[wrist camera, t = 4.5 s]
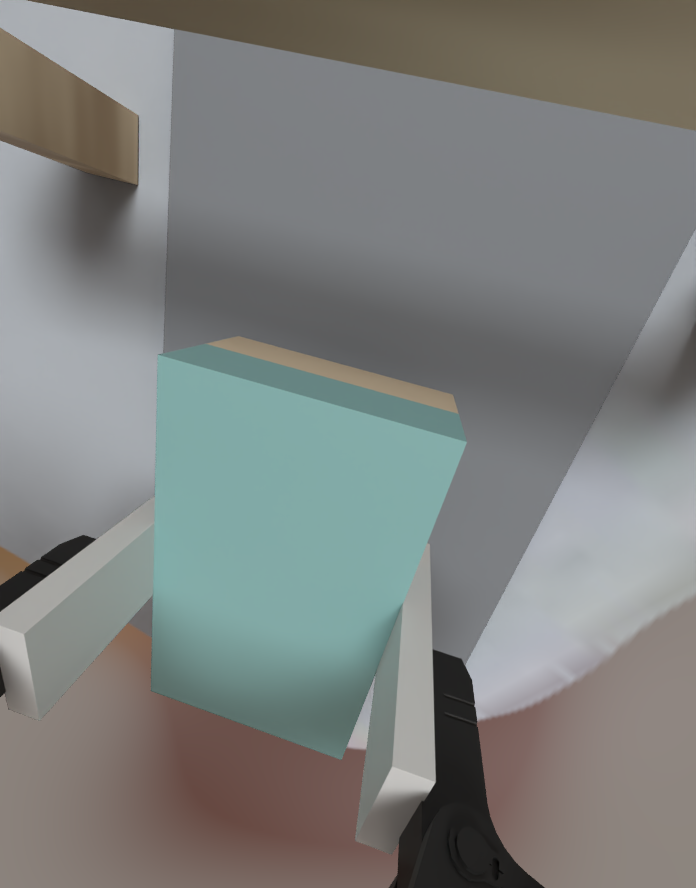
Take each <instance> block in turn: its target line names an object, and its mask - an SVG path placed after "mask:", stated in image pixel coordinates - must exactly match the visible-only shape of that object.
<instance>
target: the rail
mask: <svg viewBox="0 0 696 888" xmlns="http://www.w3.org/2000/svg"><path fill="white" fill-rule="evenodd" d="M28 1H33V2H38V3H43V4H48V5H54V6H59V7H64V8H69V9H74V10H79V11H84V12H89V13H95V14H100V15H105V16H110V17H115V18H120V19H125V20H130V21H136V22H141V23H146V24H151V25H156V26H161V27H166V28H171V29H177V30H182V31H187V32H192V33H197V34H202V35H207V36H213V37H218V38H223V39H228V40H233V41H238V42H243V43H248V44H254V45H259V46H264V47H269V48H274V49H279V50H284V51H289V52H295V53H300V54H305V55H310V56H315V57H320V58H325V59H330V60H336V61H341V62H346V63H351V64H356V65H361V66H366V67H371V68H377V69H382V70H387V71H392V72H397V73H402V74H407V75H413V76H418V77H423V78H428V79H433V80H438V81H443V82H448V83H454V84H459V85H464V86H469V87H474V88H479V89H484V90H489V91H495V92H500V93H505V94H510V95H515V96H520V97H525V98H530V99H536V100H541V101H546V102H551V103H556V104H561V105H566V106H571V107H577V108H582V109H587V110H592V111H597V112H602V113H607V114H613V115H618V116H623V117H628V118H633V119H638V120H643V121H648V122H654V123H659V124H664V125H669V126H674V127H679V128H684V129H689V130H695V131H696V0H28ZM0 140H1V141H3V142H6V143H9V144H11V145H14V146H17V147H19V148H22V149H25V150H27V151H30V152H33V153H36V154H38V155H41V156H44V157H46V158H49V159H52V160H54V161H57V162H60V163H62V164H65V165H68V166H70V167H73V168H76V169H78V170H81V171H84V172H87V173H90V174H94V175H98V176H102V177H107V178H111V179H115V180H119V181H123V182H127V183H131V184H136V185H138V115H137V114H135V113H134V112H132V111H130V110H129V109H127V108H126V107H124V106H123V105H121V104H119V103H118V102H116V101H115V100H113V99H112V98H110V97H108V96H107V95H105V94H104V93H102V92H101V91H99V90H97V89H96V88H94V87H93V86H91V85H89V84H88V83H86V82H85V81H83V80H82V79H80V78H78V77H77V76H75V75H74V74H72V73H71V72H69V71H67V70H66V69H64V68H63V67H61V66H60V65H58V64H56V63H55V62H53V61H52V60H50V59H49V58H47V57H45V56H44V55H42V54H41V53H39V52H38V51H36V50H34V49H33V48H31V47H30V46H28V45H27V44H25V43H23V42H22V41H20V40H19V39H17V38H16V37H14V36H12V35H11V34H9V33H8V32H6V31H4V30H3V29H1V28H0Z"/></svg>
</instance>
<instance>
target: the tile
mask: <svg viewBox="0 0 696 888" xmlns="http://www.w3.org/2000/svg"><path fill="white" fill-rule="evenodd" d="M466 444H467V440H466V437H465V434H464V430H463V427H462V423H461V420H460V417H459V413H458V410H457V406H456V403H455V400H454V396H453V395H452V394H449V393H445V392H441V391H438V390H434V389H430V388H427V387H423V386H419V385H416V384H412V383H408V382H405V381H401V380H397V379H394V378H390V377H386V376H383V375H379V374H376V373H372V372H368V371H365V370H361V369H357V368H354V367H350V366H346V365H343V364H339V363H335V362H332V361H328V360H324V359H321V358H317V357H313V356H310V355H306V354H302V353H299V352H295V351H291V350H288V349H284V348H280V347H277V346H273V345H269V344H266V343H262V342H258V341H255V340H251V339H247V338H244V337H240V336H237V337H233V338H228V339H224V340H220V341H215V342H211V343H207V344H202V345H198V346H194V347H189V348H185V349H181V350H176V351H172V352H168V353H163V354H159V355H158V369H157V418H156V466H155V514H154V571H153V611H152V659H151V691H152V692H155V693H158V694H161V695H163V696H167V697H169V698H172V699H175V700H178V701H180V702H183V703H186V704H189V705H191V706H194V707H197V708H199V709H202V710H205V711H208V712H210V713H213V714H216V715H219V716H222V717H224V718H227V719H230V720H233V721H235V722H238V723H241V724H244V725H246V726H249V727H252V728H255V729H257V730H260V731H263V732H266V733H268V734H271V735H274V736H277V737H279V738H283V739H285V740H288V741H291V742H293V743H296V744H299V745H302V746H304V747H307V748H310V749H313V750H316V751H318V752H321V753H324V754H326V755H329V756H332V757H335V758H338V759H340V760H341V759H342V757H343V755H344V752H345V750H346V747H347V744H348V742H349V739H350V737H351V734H352V732H353V729H354V727H355V724H356V722H357V719H358V717H359V714H360V712H361V709H362V707H363V704H364V701H365V699H366V696H367V694H368V691H369V689H370V686H371V684H372V681H373V679H374V676H375V674H376V670H377V668H378V665H379V663H380V660H381V657H382V655H383V652H384V650H385V647H386V645H387V642H388V640H389V637H390V635H391V632H392V630H393V627H394V625H395V622H396V619H397V617H398V614H399V612H400V609H401V607H402V604H403V603H404V600H405V598H406V595H407V593H408V590H409V588H410V585H411V583H412V580H413V578H414V575H415V573H416V570H417V567H418V565H419V562H420V560H421V557H422V555H423V552H424V550H425V547H426V545H427V542H428V540H429V537H430V535H431V532H432V530H433V527H434V524H435V522H436V519H437V517H438V514H439V512H440V509H441V507H442V504H443V502H444V499H445V497H446V494H447V492H448V489H449V487H450V484H451V481H452V479H453V476H454V474H455V471H456V469H457V466H458V464H459V461H460V459H461V456H462V454H463V451H464V449H465V446H466Z"/></svg>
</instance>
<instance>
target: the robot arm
mask: <svg viewBox="0 0 696 888" xmlns="http://www.w3.org/2000/svg"><path fill="white" fill-rule="evenodd" d="M154 514H155V496H153V497H152V498H151V499H150V500H148V501H147V502H146V503H144V504H143V505H142V506H140V507H139V508H138V509H136V510H135V511H134V512H132V513H131V514H130V515H128V516H127V517H126V518H124V519H123V520H122V521H120V522H119V523H118V524H116V525H115V526H114V527H112V528H111V529H110V530H108V531H107V532H106V533H104V534H103V535H102V536H100V537H99V538H98V539H94V538H91V537H88V536H85V535H82V536H79V537H77V538H74V539H72V540H69V541H67V542H64V543H62V544H60V545H58V546H57V547H55V548H54V549H53V550H51V551H50V552H48V553H47V554H45V555H44V556H42V557H41V559H40V560H37V561H35V562H34V563H32V564H31V565H29V566H28V567H26V568H25V571H23V572H22V571H21V572H19V573H18V574H16V575H15V576H14V577H12V578H11V579H9V580H8V581H6V582H5V583H3V584H2V585H0V697H1V696H2V695H3V694H4V693H5V697H6V701H7V705H8V709H9V710H12V711H14V712H17V713H20V714H22V715H25V716H28V717H30V718H33V719H35V720H38V721H40V720H41V719H42V718H43V717H44V716H45V714H46V713H47V712H48V711H49V710H50V709H51V708H52V707H53V706H54V704H55V703H56V702H57V701H58V700H59V699H60V698H61V697H62V696H63V695H64V693H65V692H66V691H67V690H68V689H69V688H70V687H71V686H72V685H73V683H74V682H75V681H76V680H77V679H78V678H79V677H80V676H81V674H82V673H83V672H84V671H85V670H86V669H87V668H88V667H89V666H90V664H91V663H92V662H93V661H94V660H95V659H96V658H97V657H98V656H99V654H100V653H101V652H102V651H103V650H104V649H105V648H106V646H107V645H108V644H109V643H110V642H111V641H112V640H113V639H114V637H116V635H117V634H118V633H119V632H120V631H121V630H122V629H123V628H124V627H125V625H126V624H127V623H128V622H129V621H130V620H131V619H132V618H133V616H134V615H135V614H136V613H137V612H138V611H139V610H140V609H141V608H142V606H143V605H144V604H145V603H146V602H147V601H148V600H149V599H150V598H151V596H152V595H153V571H154ZM474 704H475V701H474V693H473V685H472V679H471V677H470V675H469V673H468V671H467V669H466V667H465V665H464V663H463V661H462V659H461V658H458V657H455V656H452V655H449V654H446V653H443V652H440V651H437V650H434V649H432V612H431V571H430V544H428V543H427V545H426V547H425V550H424V552H423V555H422V557H421V560H420V562H419V565H418V567H417V570H416V573H415V575H414V578H413V580H412V583H411V585H410V588H409V590H408V593H407V595H406V598H405V600H404V603H403V604H402V607H401V609H400V612H399V614H398V617H397V619H396V622H395V625H394V627H393V630H392V632H391V635H390V637H389V640H388V642H387V645H386V647H385V650H384V652H383V655H382V657H381V660H380V663H379V665H378V668H377V670H376V677H375V685H374V693H373V701H372V709H371V717H370V725H369V733H368V741H367V749H366V757H365V765H364V773H363V781H362V789H361V798H360V805H359V813H358V821H357V829H356V837H355V841H357V842H360V843H362V844H365V845H368V846H370V847H373V848H376V849H378V850H381V851H383V852H386V853H389V854H392V853H393V852H394V850H395V849H396V847H397V845H398V844H399V854H398V874H397V876H396V877H395V879H394V881H393V882H392V884H391V885H390V887H389V888H544V887H543V886H542V885H540V884H539V883H538V882H537V881H536V880H535V879H533V878H532V877H531V876H530V875H528V874H527V873H526V872H525V871H524V870H523V869H522V868H521V867H520V866H519V865H518V864H517V863H516V862H515V861H514V860H513V858H512V857H511V856H510V854H509V853H508V852H507V850H506V849H505V848H504V846H503V844H502V842H501V840H500V839H499V837H498V835H497V833H496V831H495V828H494V826H493V823H492V820H491V818H490V814H489V809H488V804H487V797H486V789H485V781H484V773H483V765H482V757H481V749H480V741H479V733H478V727H477V717H476V709H475V707H474Z"/></svg>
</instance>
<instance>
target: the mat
mask: <svg viewBox="0 0 696 888" xmlns="http://www.w3.org/2000/svg"><path fill="white" fill-rule="evenodd" d="M695 229H696V131H695V130H689V129H684V128H679V127H674V126H669V125H664V124H659V123H654V122H648V121H643V120H638V119H633V118H628V117H623V116H618V115H613V114H607V113H602V112H597V111H592V110H587V109H582V108H577V107H571V106H566V105H561V104H556V103H551V102H546V101H541V100H536V99H530V98H525V97H520V96H515V95H510V94H505V93H500V92H495V91H489V90H484V89H479V88H474V87H469V86H464V85H459V84H454V83H448V82H443V81H438V80H433V79H428V78H423V77H418V76H413V75H407V74H402V73H397V72H392V71H387V70H382V69H377V68H371V67H366V66H361V65H356V64H351V63H346V62H341V61H336V60H330V59H325V58H320V57H315V56H310V55H305V54H300V53H295V52H289V51H284V50H279V49H274V48H269V47H264V46H259V45H254V44H248V43H243V42H238V41H233V40H228V39H223V38H218V37H213V36H207V35H202V34H197V33H192V32H187V31H182V30H177V29H174V54H173V84H172V114H171V143H170V173H169V202H168V232H167V262H166V291H165V321H164V351H163V353H168V352H172V351H176V350H181V349H185V348H189V347H194V346H198V345H202V344H207V343H211V342H215V341H220V340H224V339H228V338H233V337H237V336H240V337H244V338H247V339H251V340H255V341H258V342H262V343H266V344H269V345H273V346H277V347H280V348H284V349H288V350H291V351H295V352H299V353H302V354H306V355H310V356H313V357H317V358H321V359H324V360H328V361H332V362H335V363H339V364H343V365H346V366H350V367H354V368H357V369H361V370H365V371H368V372H372V373H376V374H379V375H383V376H386V377H390V378H394V379H397V380H401V381H405V382H408V383H412V384H416V385H419V386H423V387H427V388H430V389H434V390H438V391H441V392H445V393H449V394H452V395H453V396H454V400H455V403H456V406H457V410H458V413H459V417H460V420H461V423H462V427H463V430H464V434H465V437H466V440H467V444H466V446H465V449H464V451H463V454H462V456H461V459H460V461H459V464H458V466H457V469H456V471H455V474H454V476H453V479H452V481H451V484H450V487H449V489H448V492H447V494H446V497H445V499H444V502H443V504H442V507H441V509H440V512H439V514H438V517H437V519H436V522H435V524H434V527H433V530H432V532H431V535H430V537H429V540H428V542H427V543H428V544H430V571H431V612H432V649H434V650H437V651H440V652H443V653H446V654H449V655H452V656H455V657H458V658H461V659H462V661H463V663H464V665H465V664H466V663H467V661H468V659H469V657H470V655H471V653H472V651H473V649H474V647H475V646H476V644H477V642H478V640H479V638H480V636H481V634H482V632H483V630H484V628H485V627H486V625H487V623H488V621H489V619H490V617H491V615H492V613H493V611H494V610H495V608H496V606H497V604H498V602H499V600H500V598H501V596H502V594H503V592H504V591H505V589H506V587H507V585H508V583H509V581H510V579H511V577H512V575H513V574H514V572H515V570H516V568H517V566H518V564H519V562H520V560H521V558H522V556H523V555H524V553H525V551H526V549H527V547H528V545H529V543H530V541H531V539H532V538H533V536H534V534H535V532H536V530H537V528H538V526H539V524H540V522H541V520H542V519H543V517H544V515H545V513H546V511H547V509H548V507H549V505H550V503H551V501H552V500H553V498H554V496H555V494H556V492H557V490H558V488H559V486H560V484H561V483H562V481H563V479H564V477H565V475H566V473H567V471H568V469H569V467H570V465H571V464H572V462H573V460H574V458H575V456H576V454H577V452H578V450H579V448H580V447H581V445H582V443H583V441H584V439H585V437H586V435H587V433H588V431H589V429H590V428H591V426H592V424H593V422H594V420H595V418H596V416H597V414H598V412H599V411H600V409H601V407H602V405H603V403H604V401H605V399H606V397H607V395H608V393H609V392H610V390H611V388H612V386H613V384H614V382H615V380H616V378H617V376H618V375H619V373H620V371H621V369H622V367H623V365H624V363H625V361H626V359H627V357H628V356H629V354H630V352H631V350H632V348H633V346H634V344H635V342H636V340H637V339H638V337H639V335H640V333H641V331H642V329H643V327H644V325H645V323H646V321H647V320H648V318H649V316H650V314H651V312H652V310H653V308H654V306H655V304H656V303H657V301H658V299H659V297H660V295H661V293H662V291H663V289H664V287H665V285H666V284H667V282H668V280H669V278H670V276H671V274H672V272H673V270H674V268H675V267H676V265H677V263H678V261H679V259H680V257H681V255H682V253H683V251H684V249H685V248H686V246H687V244H688V242H689V240H690V238H691V236H692V234H693V232H694V231H695Z"/></svg>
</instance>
